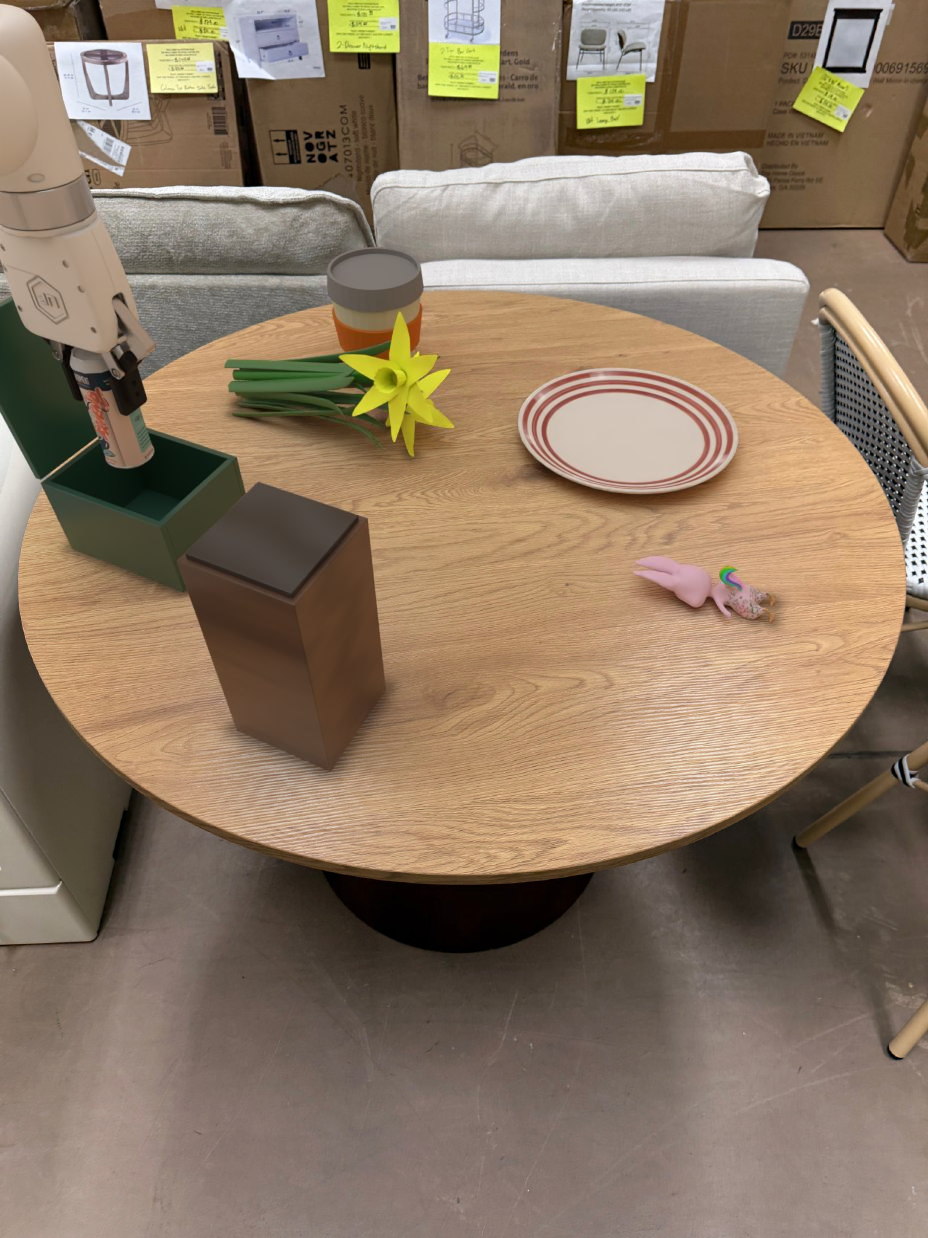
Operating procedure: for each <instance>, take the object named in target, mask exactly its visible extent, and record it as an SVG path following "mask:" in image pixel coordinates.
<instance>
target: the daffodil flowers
mask: <svg viewBox="0 0 928 1238" xmlns="http://www.w3.org/2000/svg"><path fill="white" fill-rule="evenodd" d="M388 349H390V352H389V360H390V361H388V360H383V359H379V358H375V357H374V356H376V355H379V354H381V353H383V352H385V351H386V350H388ZM439 358H441V355H438V354H423V355H422V354H421V355H420V351H419V350H418V351H417V352H415V356H414V357H412V358H411V357H410V337H409V333H408V329H407V325H406V323H405V320H404V318H403V316H402V314H401V312H400V311H399V313H398V315H397V319H396V322H395V326H394V330H393V335H392V340H390V341H387V342H385V343H382V344H379V345H376V346H373V347H369V348H365V349H361V350H355V351H349V352H345V351H343V352H338V353H331V354H324V355H315V356H308V357H300V358H290V359H278V360H277V359H275V360H270V359H238V358H237V359H235V358H234V359H231V358H228V359H227V360H226V361H225V362H224V366H223V367H224V369H233V370H232V373H231V375H232V377H233V380H231V381H229V383H228V385H227V388H228V393H234V395H235V396H236V397H240V398H241V399H242V398H243V399H242V402H236V403H235V404H236V405H237V406H238V407H243V408H244V407H245V408H254V409H267V410H273V411H267V412H263V411H262V412H235V411H233V412H231V415H232V416H233V417H234V416H236V417H241V418H242V417H243V418H273V417H274V418H276V417H277V418H278V417H305V416H306V417H307V416H308V417H309V416H310V417H314V418H317V419H318V418H319V419H322V420H327V421H331V422H335V423H338V424H341V425H344V426H348V427H351V428H354V429H355V430H357V431H359V432H361V433H363V434H364V435H366V436H367V438H369V439H370V440H371V441H373V442H374V443H375V444H376V445H377V446H378V447H379V448H380V449H381V450H382V451H384V452H386V449H385V448H384V446H383V445H382V444H381V442H379V440H378V439H377V438H376V437H375V436H374V435H373V433H371V432H370V431H368V430H367V429H365V428H364V427H363V426H361V425H358V424H356V423H353V422H350V421H346V420H344V419H346V417H351V418H354V419H357V420H361V421H364V422H368V423H370V424H373V425H376V426H379V427H383V428H388V427H390V435H391V439H392V442H393V443H395V442H396V441H397V437H398V434H399V432H400V429H401V432H402V436H403V440H404V443H405V447H406V450H407V452H408V454H409V455H410V457H412V458H414V457H415V451H414V445H415V432H416V431H415V430H416V429H415V428H416V422H417V423H422V424H425V425H429V426H434V427H438V428H447V429H455V425H454V423H453V422H452V421H451V420H449V418H448V417H446V416H445V415H444V414H443V413H442V412H441V411H440V410H438V409H437V408H436V406H435V405H434V404H435V403H434V402H433V400H432V399H430V398H429V396H430V395H431V394H432V393H433V392H435V390H436V389H437V388H438V387H439V386H440V385H441V384H442V382H443V381H444V380H445V379H446V378H447V376H448V375H449V374H450V372H451V370H452V368H446V369H441V370H437V371H435V372H432V373H430V374H428V373H429V372H430V371H431V370H432V369H433V367H434V366H435V363H436V362H437V360H439ZM427 374H428V375H427ZM423 377H424V378H423ZM420 379H421V380H420ZM342 389H343V390H344V389H358V390H359V391H362V392H363V393H350V392H341V391H340V390H342ZM367 389H368V391H367ZM339 405H349V406H348V407H344V406H339ZM351 405H352V406H351ZM293 407H294V408H293ZM299 408H301V409H299ZM302 409H307V410H302ZM373 409H378V410H383V411H387V412H388V417H387V418H386V421H385V423H383V422H380V420H378V419H376V418H375V417H373V416H371V415H369V414H367V412H370V411H372V410H373ZM274 410H275V411H274ZM333 416H342V417H343V418H344V419H341V418H337V417H333Z"/></svg>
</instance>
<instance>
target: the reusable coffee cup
mask: <svg viewBox="0 0 928 1238" xmlns="http://www.w3.org/2000/svg"><path fill="white" fill-rule="evenodd" d="M326 284H327V285H326V292H327V295H328V298H329V299H330V300H331V303H332V309H331V316H332V319H333V323H334V327H335V331H336V335H337V339H338V343H339V346H340V348H341V349H342V350H343V352H349V351H355V350H361V349H365V348H369V347H373V346H376V345H379V344H382V343H385V342H387V341H390V340H392V335H393V330H394V326H395V322H396V319H397V315H398V313H399V311H400V312H401V314H402V316H403V318H404V320H405V323H406V325H407V329H408V333H409V337H410V357H411V358H412V357H414V356H415V354H416V350H417V349H416V348H417V347H418V345H419V343H420V338H421V329H422V328H421V327H422V319H423V318H422V317H423V306H422V303H421V298H422V297H421V296H422V295H423V293H424V291H425V290H424V287H425V285H424V279H423V272H422V265H421V263H420V261H419V260H418V258H417V257H416V256H414V255H412V254H411V253H410V252H407V251H405V250H401V249H398V248H393V247H385V246H384V247H383V246H370V247H369V246H368V247H361V248H355V249H352V250H351V249H350V250H348V251H346V252H343V253H341V254H339V255H337V256H335V257H334V258H333V259H331V260H330V262H329V263H328V265H327V268H326ZM389 352H390V349H388V350H386V351H385V352H383V353H381V354H379V355H376V356H374V357H375V358H379V359H383V360H388V361H390V360H389Z"/></svg>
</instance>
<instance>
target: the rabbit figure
mask: <svg viewBox="0 0 928 1238" xmlns="http://www.w3.org/2000/svg"><path fill="white" fill-rule="evenodd" d="M634 565H636V566H639V567H644V568H646V569H644V570H633V571H632V574H633V575H635V576H637V577H640V578H644V579H646V580H648V581H650V582H653V583H655V584H657V585H658V586H660V587H662V588H664V589H666V590H669V591H671V592H673V593H674V595H675V596H676V598H678V599H679V600H681V601H682V602H684V603H686V604H687V605H689V606H691V607H693V608H699V607H701V606H703V605H704V604H705V601H706V600H707V598H709V597H710V598H712V600H713V601H714V602H715V605H717V608H718V609H719V610H720V611H721V613H722V614H723V615H724V616H725V617H726V618H728V619H731V618H732V613H731V612H730V611H729V610H728V609H727V608H726V607H725V606H729V607H730V608H732V610H733V611H735V612H736V613H737V614H738V615H740V616H741V617H743V618H745V619H747V620H755V619H757V618H759V617H760V616H761V615H764V614H768V615H769V618H768V620H767V621H769V622H768V623H769V624H771V623H772V622H773V621H774V619H775V617H776V615H777V614H778V613H779V612H778V611H776V612H774V613H772V612H771V611H770V610H769V608H765V607H762V606H760V604H761V602H762V601H763V600H764V599H766V598H769V600H770V602H769V605H770V608H772V606H773V605H774V604H775V602H776V601H777V598H778V597H779V595H775V596H772V595H771V593H770V592H769V591H759V590H757V589H755V587H754V586H752V585H750V584H744V583H743V582H742V580H741V579H740V578H739V576H737V575H736V574H734V572H735V573H736V572H739V569H738V568H736V567H734V566H732V565H724V566H722V567H721V568H720V569H719V571H718V577H719V580H720V581H718V582H717V584H716V585H713V580H712V577H711V575H710V573H709V572H708V571H707V570H706V569H704V568H702V567H700V566H698V565H694V564H687V563H686V564H682V563H679V562H677V561H676V560H675V559H672V558H671V557H667V556H663V555H649V556H645V557H643V558H640V559H638V560H636V561H635V562H634ZM726 586H730V587H733V588H727V587H726Z"/></svg>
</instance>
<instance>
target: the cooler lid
mask: <svg viewBox="0 0 928 1238" xmlns="http://www.w3.org/2000/svg"><path fill="white" fill-rule="evenodd" d="M62 362H63V361H58V360H56V359H55V358H54V356H53V355H52V351H51V346H50V345H49V344H48V343H47V342H46V341H45V340H44V339H43V338H42V337H41V336H38V335H36V334H34V333H32V332H31V331H29V330H28V329H27V328H26V327H25V326H24V324H23V322H22V320H21V318H20V315H19V313H18V310H17V308H16V305H15V302H14V300H13V297H12V294H11V293H10V294H8V295H7V296H5V297H3V298H1V299H0V415H1V417H2V418H3V420H4V422H5V424H6V426H7V428H8V430H9V431H10V433H11V435H12V437H13V439H14V441H15V443H16V444H17V446H18V448H19V450H20V452H21V454H22V455H23V458H24V460H25V462H26V463H27V465H28V467H29V469H30V471H31V473H32V474H33V476H34V478H35V479H37V480H41V481H43V480H44V478H47V476H48V475H49V474H52V473H53V472H54V471H56V469H58V468H60V467H61V466H62V465H64V463H66V461H67V462H68V461H69V459H71V458H73V456H75V455H77V453H78V452H81V451H82V449H85V448H86V447H87V445H88V446H89V445H90V443H92V442H94V441H95V440H96V439H98V436H97V433H96V431H95V428H94V425H93V423H92V420H91V417H90V414H89V412H88V409H87V406H86V404H85V401H84V400H83V401H78V400H75V399H74V397H73V395H72V392H71V389H70V387H69V384H68V381H67V379H66V376H65V374H64V371H63V368H62V366H61V363H62Z"/></svg>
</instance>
